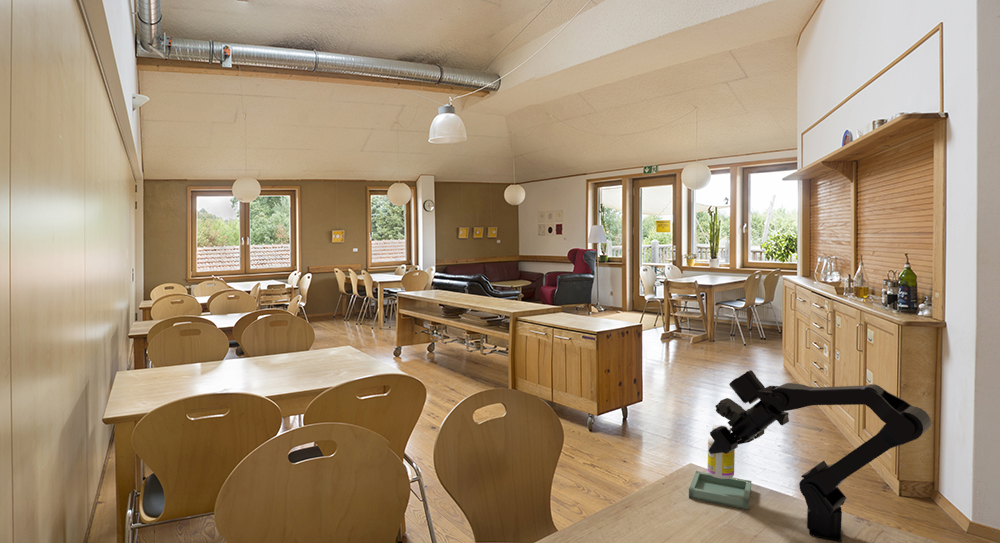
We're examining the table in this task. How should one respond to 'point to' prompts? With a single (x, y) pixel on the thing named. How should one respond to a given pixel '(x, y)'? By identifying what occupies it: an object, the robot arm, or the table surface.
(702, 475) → the tub
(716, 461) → the supplement bottle
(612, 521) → the table surface
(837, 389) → the robot arm
